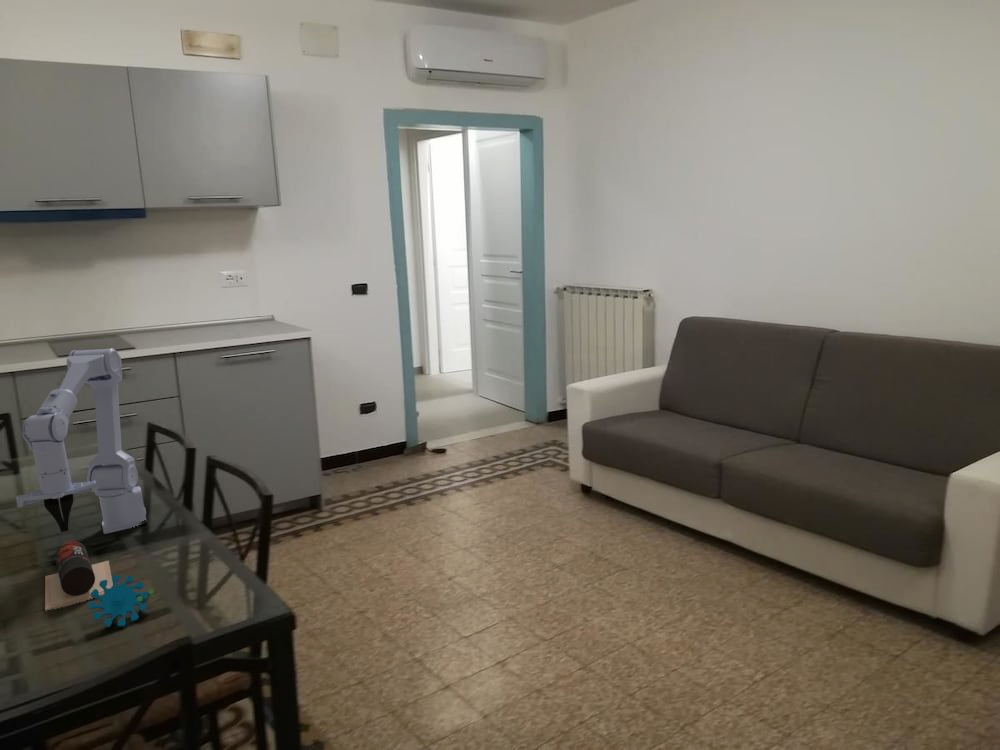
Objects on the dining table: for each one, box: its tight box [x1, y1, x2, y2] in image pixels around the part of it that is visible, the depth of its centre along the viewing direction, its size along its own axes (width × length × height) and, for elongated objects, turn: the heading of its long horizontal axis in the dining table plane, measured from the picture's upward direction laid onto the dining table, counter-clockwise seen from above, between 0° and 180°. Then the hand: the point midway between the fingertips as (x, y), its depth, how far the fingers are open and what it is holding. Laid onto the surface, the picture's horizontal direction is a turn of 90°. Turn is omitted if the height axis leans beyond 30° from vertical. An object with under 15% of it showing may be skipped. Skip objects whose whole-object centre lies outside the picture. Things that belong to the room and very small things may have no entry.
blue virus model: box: [88, 574, 155, 628], centre depth 140 cm, size 11×6×10 cm
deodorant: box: [54, 540, 95, 596], centre depth 153 cm, size 6×6×15 cm
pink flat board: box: [44, 560, 113, 612], centre depth 152 cm, size 12×16×1 cm
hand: (64, 529), depth 157 cm, fingers closed
